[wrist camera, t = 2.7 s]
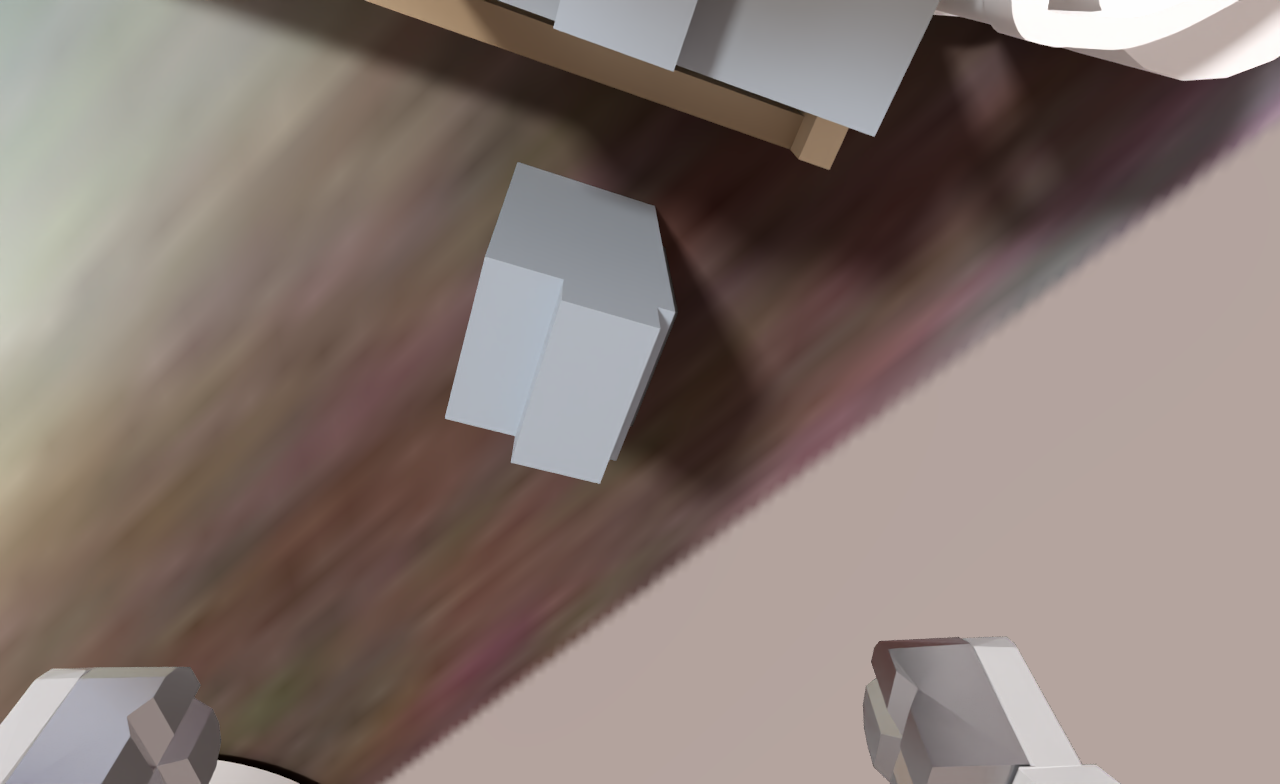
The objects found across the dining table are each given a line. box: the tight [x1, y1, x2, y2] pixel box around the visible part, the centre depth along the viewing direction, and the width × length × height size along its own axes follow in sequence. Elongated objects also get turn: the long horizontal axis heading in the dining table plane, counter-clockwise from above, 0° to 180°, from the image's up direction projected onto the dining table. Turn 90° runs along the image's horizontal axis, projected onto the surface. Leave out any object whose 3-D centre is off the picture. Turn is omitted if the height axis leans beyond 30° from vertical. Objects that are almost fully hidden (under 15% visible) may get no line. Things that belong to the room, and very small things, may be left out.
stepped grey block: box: [445, 162, 678, 484], centre depth 19 cm, size 4×4×8 cm
